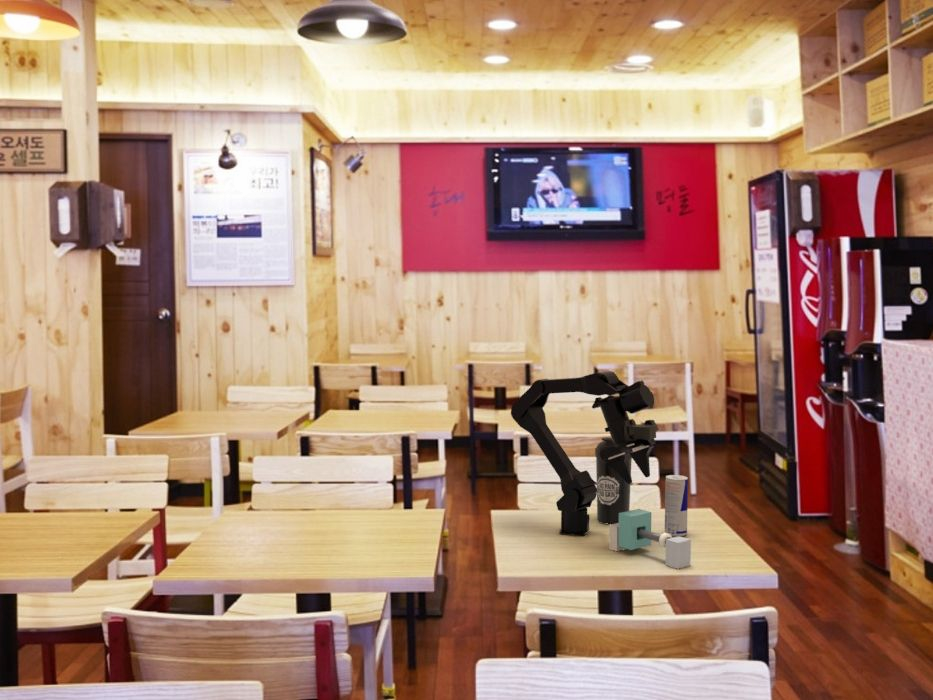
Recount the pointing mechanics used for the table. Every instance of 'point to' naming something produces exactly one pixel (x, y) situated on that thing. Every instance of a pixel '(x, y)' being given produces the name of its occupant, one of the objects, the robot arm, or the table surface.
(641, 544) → the teal block with hole
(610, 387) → the robot arm
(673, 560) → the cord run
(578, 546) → the table surface
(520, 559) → the table surface
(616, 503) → the water bottle
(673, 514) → the beverage can
